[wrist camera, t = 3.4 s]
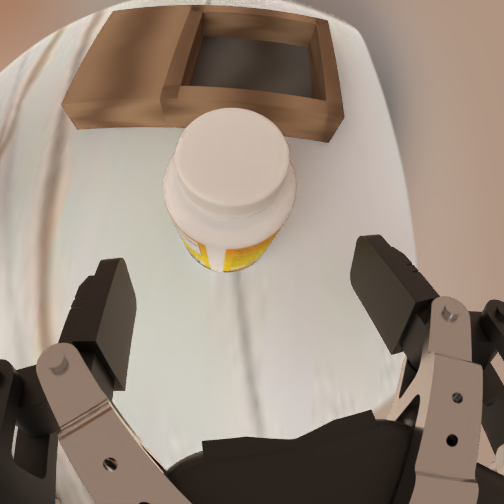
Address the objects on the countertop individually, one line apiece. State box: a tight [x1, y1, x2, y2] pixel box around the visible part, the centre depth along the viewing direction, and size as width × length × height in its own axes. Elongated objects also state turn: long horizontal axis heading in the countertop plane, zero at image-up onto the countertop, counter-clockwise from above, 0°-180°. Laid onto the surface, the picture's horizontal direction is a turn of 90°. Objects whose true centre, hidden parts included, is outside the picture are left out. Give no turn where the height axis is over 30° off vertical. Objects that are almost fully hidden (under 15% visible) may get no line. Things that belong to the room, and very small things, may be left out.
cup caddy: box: [61, 5, 344, 143], centre depth 21 cm, size 20×12×4 cm, turn 87°
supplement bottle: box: [163, 108, 296, 272], centre depth 15 cm, size 6×6×10 cm
